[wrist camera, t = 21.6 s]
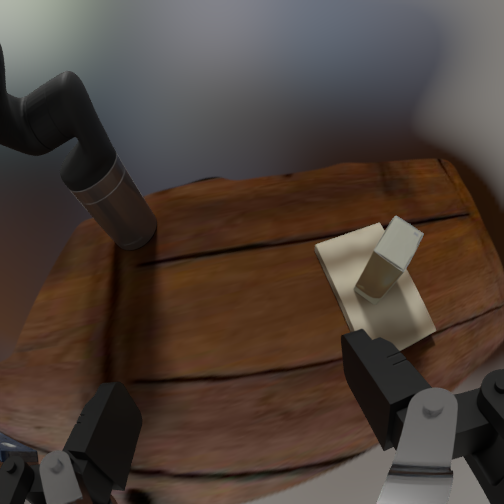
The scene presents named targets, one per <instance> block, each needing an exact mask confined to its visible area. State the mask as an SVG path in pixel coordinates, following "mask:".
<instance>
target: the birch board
mask: <svg viewBox="0 0 504 504" xmlns="http://www.w3.org/2000/svg"><path fill="white" fill-rule="evenodd" d="M384 232H385V231H384V229H383V228H382V226H381V224H380V223H377V224H374V225H371V226H368V227H365V228H363V229H360V230H357V231H354V232H351V233H348V234H345V235H342V236H339V237H336V238H333V239H330V240H328V241H325V242H322V243H319V244H316V245H315V253H316V255H317V257H318V259H319V261H320V264H321V266H322V268H323V270H324V272H325V274H326V276H327V279H328V281H329V283H330V285H331V287H332V290H333V292H334V294H335V296H336V299H337V301H338V303H339V305H340V308H341V310H342V312H343V315H344V317H345V319H346V322H347V324H348V326H349V329H350V331H351V332H353V331H356V330H359V329H364V330H365V332H366V333H367V334H368V335H369V336H370V338H371V339H372V340H374V339H376V338H379V337H381V338H383V339H385V340H387V341H390V342H392V343H393V344H394V345H395V346H396V348H397V349H398V350H399V351H401V350H403V349H405V348H406V347H408V346H410V345H412V344H414V343H416V342H417V341H419V340H421V339H423V338H424V337H426V336H428V335H429V334H431V333H433V332H435V331H436V329H435V326H434V324H433V322H432V320H431V318H430V315H429V313H428V311H427V309H426V307H425V305H424V303H423V301H422V299H421V297H420V295H419V293H418V291H417V289H416V287H415V285H414V283H413V281H412V279H411V277H410V275H409V273H408V271H407V269H406V270H405V271H404V273H403V274H402V275H401V276H400V278H399V279H398V280H397V281H396V282H395V284H394V285H393V286H392V287H391V288H390V290H389V291H388V292H387V293H386V294H385V295H384V297H383V298H382V299H381V300H380V301H379V302H378V303H377V305H374V304H372V303H371V302H369V301H368V300H367V299H365V298H364V297H362V296H361V295H360V294H358V293H357V292H356V291H354V290H353V288H354V287H355V285H356V283H357V281H358V280H359V278H360V276H361V274H362V272H363V270H364V268H365V266H366V264H367V263H368V261H369V259H370V257H371V255H372V253H373V251H374V249H375V247H376V246H377V244H378V242H379V240H380V239H381V237H382V235H383V234H384Z"/></svg>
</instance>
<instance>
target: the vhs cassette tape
mask: <svg viewBox="0 0 504 504" xmlns="http://www.w3.org/2000/svg"><path fill="white" fill-rule="evenodd" d="M36 452H37V451H36V450H33V449H32V448H29V447H27V446H25V445H23V444H21V443H19V442H17V441H15V440H13V439H11V438H9V437H7V436H6V435H4V434H2V433H0V461H1V462H4V461H5V460H7V459H8V458H9V457H12V456H20V457H21V458H22V459H23V460H24V461H25V462H37V461H38V459H37V453H36Z"/></svg>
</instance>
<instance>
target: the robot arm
mask: <svg viewBox="0 0 504 504" xmlns="http://www.w3.org/2000/svg"><path fill="white" fill-rule="evenodd" d="M5 82H6V81H5V66H4V57H3V51H2V47H1V45H0V144H1V145H3V146H6V147H9V148H11V149H14V150H16V151H19V152H22V153H25V154H28V155H33V156H39V155H43V154H46V153H48V152H50V151H52V150H54V149H55V148H57V147H59V146H60V145H62V144H63V143H65V142H67V141H68V140H70V139H72V138H73V137H76V138H77V139H78V141H79V142H78V143H77V144H76V146H75V147H74V148H73V149H72V150H71V151H70V152H69V154H68V155H67V156H66V158H65V160H64V162H63V164H62V166H61V170H60V175H61V178H62V180H63V182H64V183H65V185H66V186H67V187H68V188H69V189H70V191H71V192H72V193H73V194H74V196H75V197H76V198H77V199H78V201H79V202H80V203H81V204H82V205H83V206H84V208H85V209H86V210H87V211H88V212H89V213H90V215H91V216H92V217H93V218H94V219H95V220H96V222H97V223H98V224H99V225H100V226H101V227H102V228H103V229H104V231H105V232H106V233H107V234H108V235H109V236H110V237H111V238H112V239H113V241H114V242H115V243H116V244H117V245H118V246H119V247H120V248H122V249H124V250H134V249H137V248H140V247H142V246H143V245H145V244H146V243H147V242H148V241H149V240H150V239H151V237H152V236H153V234H154V232H155V230H156V226H157V221H156V217H155V215H154V214H153V212H152V211H151V209H150V207H149V206H148V204H147V203H146V201H145V199H144V198H143V196H142V195H141V193H140V191H139V190H138V188H137V186H136V185H135V183H134V182H133V180H132V178H131V176H130V175H129V173H128V171H127V170H126V168H125V167H124V165H123V163H122V162H121V160H120V158H119V156H118V155H117V153H116V151H115V149H114V147H113V146H112V144H111V142H110V140H109V138H108V136H107V134H106V132H105V130H104V128H103V126H102V124H101V122H100V120H99V118H98V116H97V114H96V112H95V109H94V107H93V105H92V102H91V100H90V98H89V95H88V93H87V91H86V89H85V87H84V85H83V83H82V81H81V80H80V78H79V77H78V76H77V75H76V74H75V73H73V72H71V71H66V72H63V73H61V74H59V75H57V76H56V77H54V78H53V79H51V80H49V81H48V82H46V83H45V84H43V85H42V86H40V87H39V88H37V89H36V90H34V91H33V92H32V93H31V94H29V95H28V96H25V97H22V98H17V97H14V96H12V95H10V94H8V93H7V91H6V83H5ZM341 345H342V355H343V366H344V373H345V377H346V380H347V383H348V385H349V387H350V389H351V391H352V392H353V394H354V396H355V398H356V400H357V402H358V404H359V405H360V407H361V409H362V411H363V413H364V415H365V417H366V418H367V420H368V422H369V424H370V426H371V428H372V430H373V432H374V433H375V435H376V437H377V439H378V441H379V443H380V445H381V447H382V449H383V451H385V450H387V449H390V448H392V447H394V448H395V450H396V455H395V457H394V460H393V464H392V466H391V468H390V470H389V473H388V475H387V478H386V481H385V483H384V486H383V488H382V491H381V493H380V496H379V498H378V501H377V503H376V504H447V503H448V499H449V495H450V491H451V487H452V482H453V471H451V469H450V468H451V460H452V459H455V458H459V457H462V456H463V457H464V458H465V460H466V461H467V463H468V465H469V467H470V468H471V470H472V472H473V473H474V475H475V477H476V478H477V480H478V482H479V484H480V485H481V487H482V489H483V490H484V493H485V494H486V496H487V498H488V500H489V502H490V503H491V504H504V369H502V370H501V369H500V370H495V371H492V372H490V373H489V374H488V375H486V377H485V378H484V379H483V382H482V384H481V387H480V388H478V389H474V390H471V391H468V392H464V393H461V394H455V395H453V394H452V393H451V392H449V391H448V390H445V389H442V388H432V387H431V386H430V385H429V384H428V383H427V381H426V380H425V379H424V378H423V377H422V376H421V375H420V373H419V372H418V371H417V370H416V369H415V368H414V367H413V365H412V364H411V363H410V362H409V361H407V360H406V358H405V356H404V355H403V354H402V353H400V351H399V350H398V349H397V348H396V346H395V345H394V344H393V343H392V342H390V341H387V340H385V339H383V338H381V337H379V338H376V339H374V340H372V339H371V338H370V336H369V335H368V334H367V333H366V332H365V330H364V329H359V330H356V331H353V332H350V333H347V334H344V335H342V336H341ZM80 415H81V416H79V418H78V420H77V424H75V426H74V428H73V430H72V432H71V434H70V436H69V438H68V440H67V442H66V444H65V446H64V448H63V450H62V451H53V452H51V453H49V454H48V455H46V456H45V457H44V458H43V460H42V461H41V463H40V464H39V465H30V466H29V465H28V464H27V463H26V462H25V461H24V460H23V459H22V458H21V457H20V456H12V457H9V458H8V459H7V460H5V461H4V463H3V464H2V466H1V468H0V504H24V502H25V499H26V500H28V501H29V502H30V503H31V504H117V502H116V500H115V498H114V497H113V496H112V495H111V491H112V489H113V490H122V491H125V487H126V482H127V478H128V474H129V471H130V467H131V463H132V459H133V455H134V452H135V448H136V444H137V441H138V437H139V434H140V430H141V426H142V416H141V413H140V410H139V409H138V407H137V406H136V404H135V402H134V401H133V399H132V398H131V396H130V395H129V393H128V391H127V390H126V388H125V386H124V385H123V384H122V383H121V382H111V383H102V384H101V385H100V386H99V388H98V390H97V392H96V394H95V396H94V397H93V398H92V399H91V400H90V401H89V402H88V403H87V404H86V405H85V406H84V408H83V410H82V412H81V414H80Z"/></svg>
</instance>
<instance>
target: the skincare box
mask: <svg viewBox="0 0 504 504" xmlns="http://www.w3.org/2000/svg"><path fill="white" fill-rule="evenodd" d="M423 235H424V234H423V233H422V232H421V231H419V230H418V229H416V228H415V227H413V226H412V225H410V224H409V223H407V222H406V221H404V220H403V219H401V218H399V217H398V216H395V217H394V218H393V220H392V221H391V222H390V224H389V226H388V227H387V229H386V230H385V232H384V234H383V235H382V237H381V239H380V240H379V242H378V244H377V246H376V247H375V249H374V251H373V253H372V255H371V257H370V259H369V261H368V263H367V264H366V266H365V268H364V270H363V272H362V274H361V276H360V278H359V280H358V281H357V283H356V285H355V287H354V288H353V290H354V291H356V292H357V293H358V294H360V295H361V296H362V297H364V298H365V299H367V300H368V301H369V302H371V303H372V304H374V305H377V303H378V302H379V301H380V300H381V299H382V298H383V297H384V295H385V294H386V293H387V292H388V291H389V290H390V288H391V287H392V286H393V285H394V284H395V282H396V281H397V280H398V279H399V278H400V276H401V275H402V274H403V273H404V271H405V270H406V268H407V266H408V264H409V263H410V261H411V259H412V257H413V255H414V253H415V251H416V249H417V247H418V245H419V243H420V241H421V239H422V237H423Z"/></svg>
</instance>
